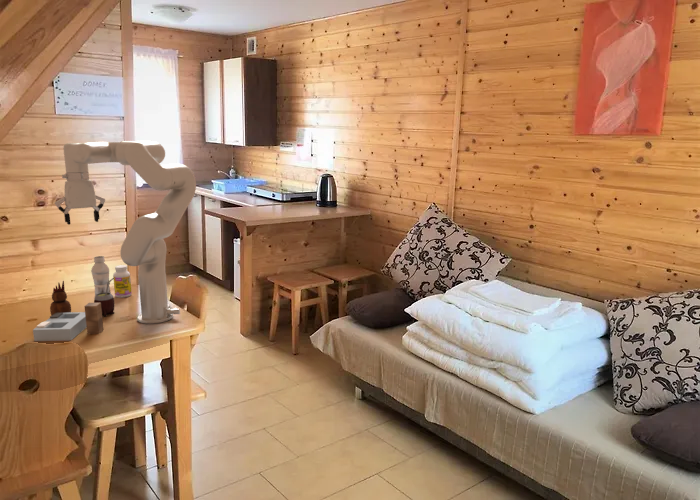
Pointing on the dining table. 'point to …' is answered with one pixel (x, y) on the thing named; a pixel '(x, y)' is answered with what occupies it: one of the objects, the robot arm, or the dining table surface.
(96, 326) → the plug
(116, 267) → the supplement bottle
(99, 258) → the plastic bottle
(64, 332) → the socket board
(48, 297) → the dining table surface
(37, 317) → the dining table surface
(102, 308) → the mate gourd
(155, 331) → the dining table surface
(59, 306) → the wooden figurine
